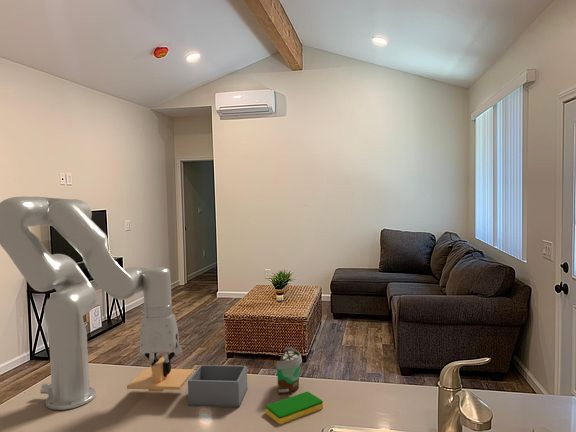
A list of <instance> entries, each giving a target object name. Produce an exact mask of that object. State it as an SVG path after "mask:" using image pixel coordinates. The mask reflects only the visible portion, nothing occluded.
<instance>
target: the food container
mask: <svg viewBox="0 0 576 432" xmlns="http://www.w3.org/2000/svg"><path fill="white" fill-rule="evenodd" d="M302 362H303V359H302V355H301V352H300V351H299V350H297V349H295V348H292V347H284V352H283V353H282V355H281V356H280V359H279V361H276V371H277V374H276V375H277V390H278V391H277V392H278V393H277V395H278V396H279V395H280V396H283V395H284V396H285V395H291V394H293V393H296V392H297V391H298V390H299V387H300V369H301V368H300V367H301V364H302Z"/></svg>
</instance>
